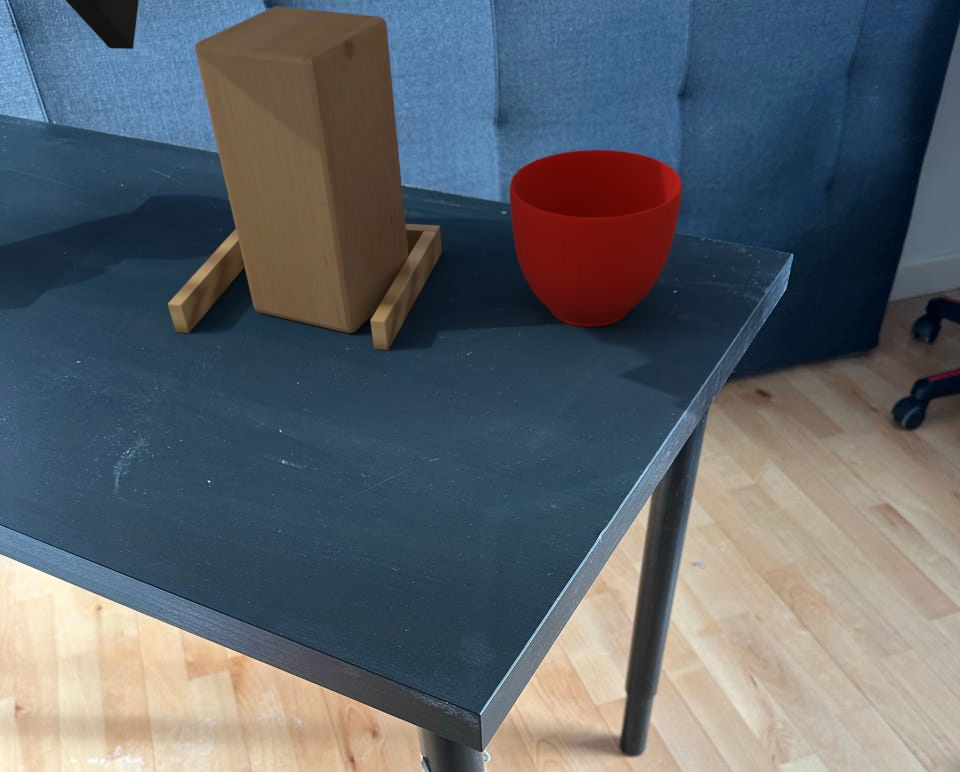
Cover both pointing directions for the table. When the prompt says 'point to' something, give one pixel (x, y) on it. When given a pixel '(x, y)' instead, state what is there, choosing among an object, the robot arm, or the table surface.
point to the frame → (384, 322)
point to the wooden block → (309, 160)
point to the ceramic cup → (593, 230)
